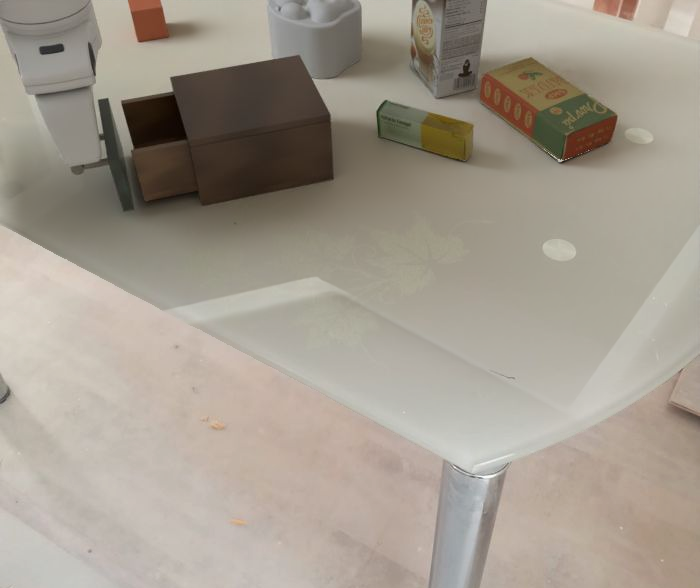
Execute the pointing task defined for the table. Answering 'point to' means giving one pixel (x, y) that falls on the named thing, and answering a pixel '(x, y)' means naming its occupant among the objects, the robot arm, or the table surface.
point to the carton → (547, 108)
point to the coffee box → (447, 44)
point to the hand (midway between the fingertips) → (90, 151)
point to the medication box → (425, 130)
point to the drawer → (147, 148)
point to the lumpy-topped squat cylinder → (317, 33)
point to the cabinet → (254, 128)
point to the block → (148, 19)
